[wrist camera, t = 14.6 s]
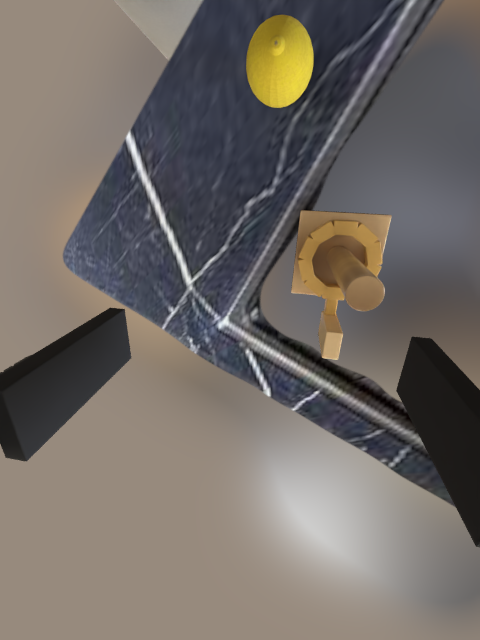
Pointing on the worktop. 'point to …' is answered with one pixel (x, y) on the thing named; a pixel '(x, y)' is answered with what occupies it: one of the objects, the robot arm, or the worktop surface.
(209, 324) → the worktop surface
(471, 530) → the robot arm
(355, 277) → the peg stand
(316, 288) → the hang ring
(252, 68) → the lemon
